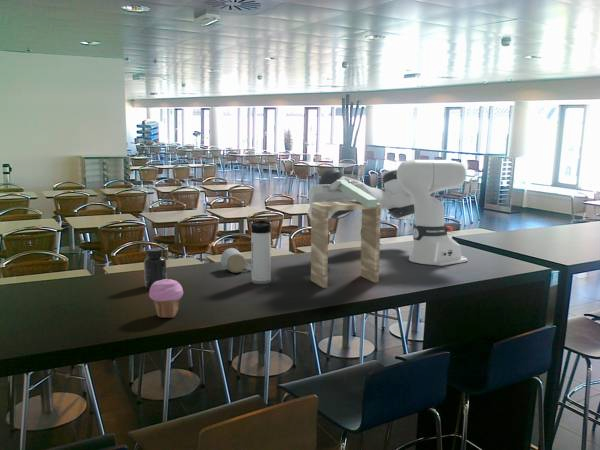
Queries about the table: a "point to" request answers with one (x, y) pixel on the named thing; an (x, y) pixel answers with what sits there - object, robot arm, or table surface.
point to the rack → (368, 239)
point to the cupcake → (166, 297)
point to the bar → (357, 194)
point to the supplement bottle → (154, 267)
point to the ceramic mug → (234, 261)
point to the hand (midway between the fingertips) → (345, 182)
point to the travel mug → (261, 252)
